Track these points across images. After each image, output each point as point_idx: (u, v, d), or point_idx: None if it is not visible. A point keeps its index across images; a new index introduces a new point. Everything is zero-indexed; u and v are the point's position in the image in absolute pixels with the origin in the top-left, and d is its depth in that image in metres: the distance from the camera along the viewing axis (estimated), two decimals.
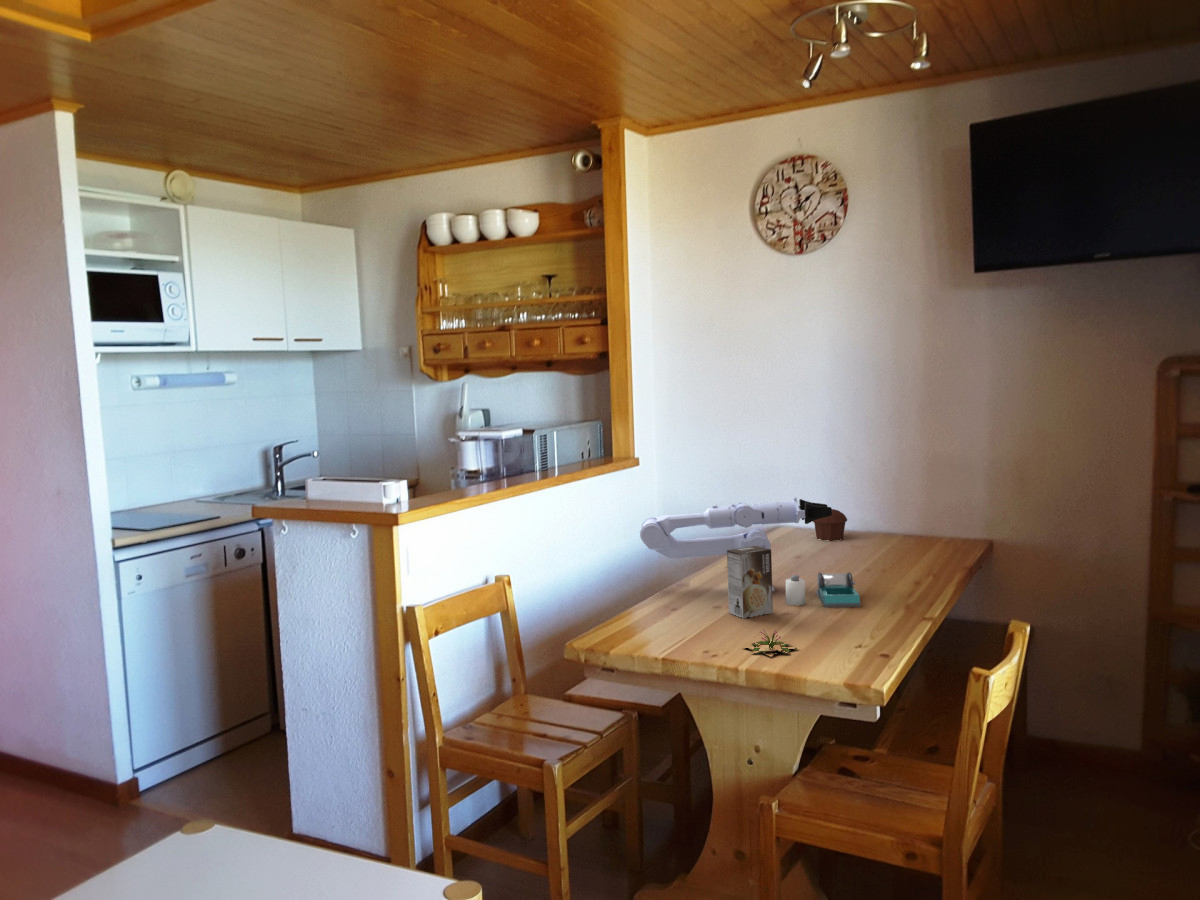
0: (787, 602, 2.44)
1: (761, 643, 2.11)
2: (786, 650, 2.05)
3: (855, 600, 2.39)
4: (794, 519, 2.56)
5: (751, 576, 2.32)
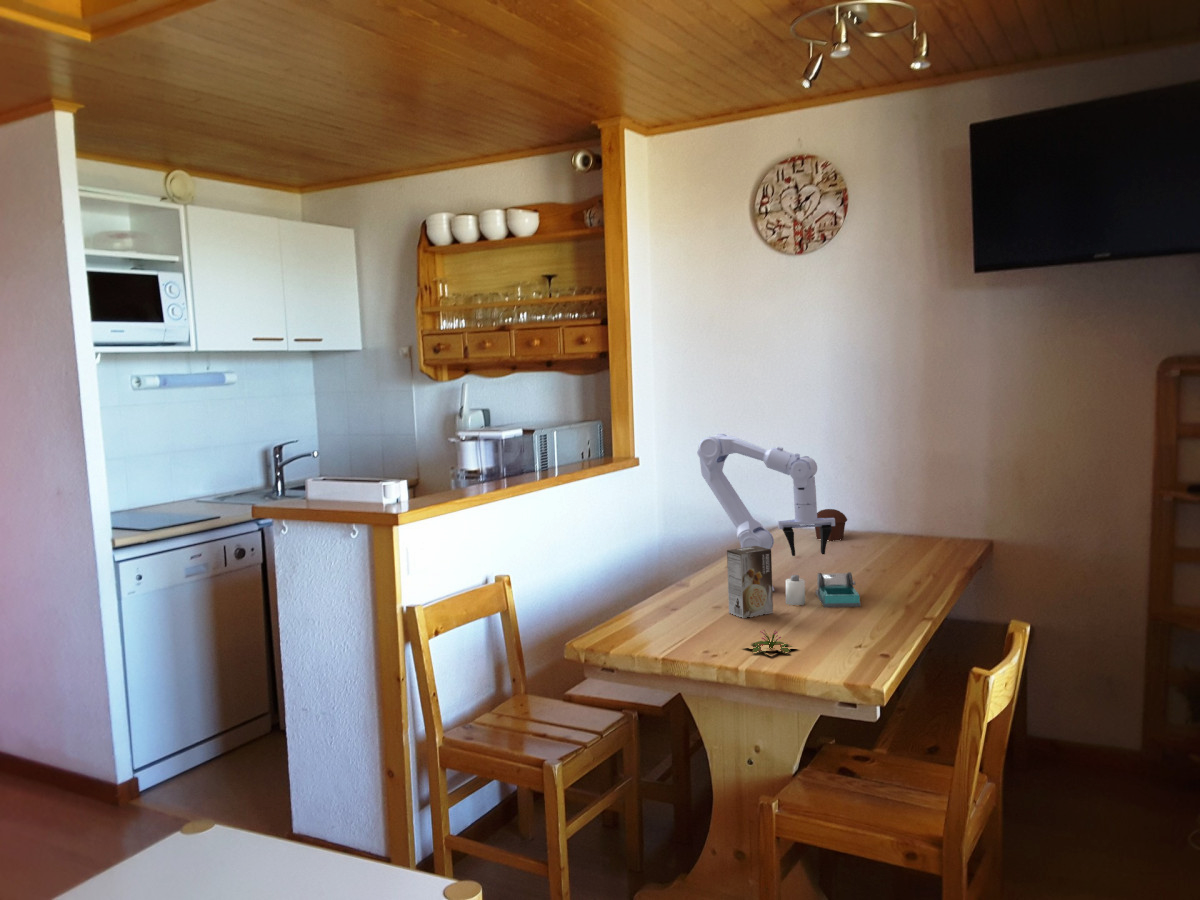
0: (787, 602, 2.44)
1: (761, 643, 2.11)
2: (786, 650, 2.05)
3: (855, 600, 2.39)
4: (815, 519, 2.51)
5: (751, 576, 2.32)
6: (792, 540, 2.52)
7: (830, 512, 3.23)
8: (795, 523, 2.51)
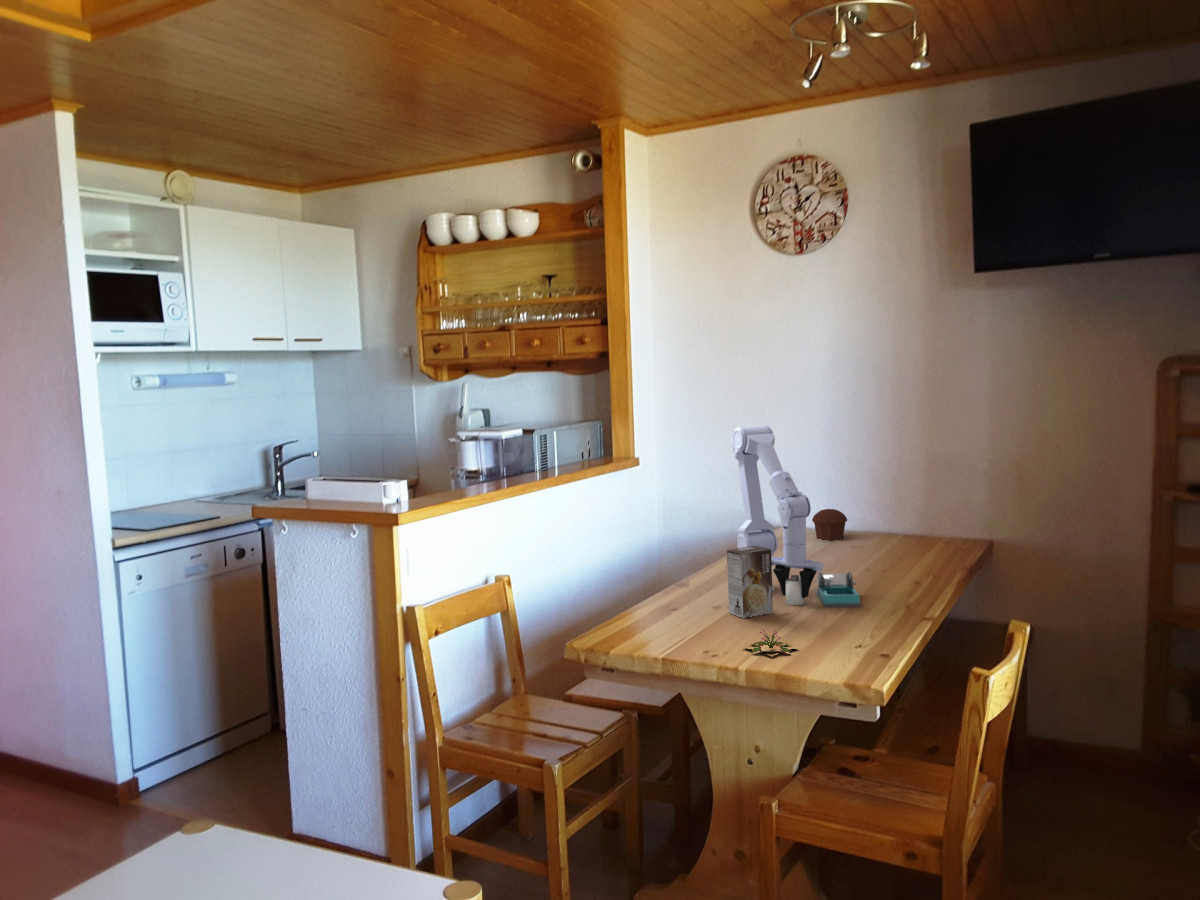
0: (787, 602, 2.44)
1: (760, 643, 2.10)
2: (786, 650, 2.05)
3: (855, 600, 2.39)
4: (799, 561, 2.41)
5: (751, 576, 2.32)
6: (781, 579, 2.45)
7: (830, 512, 3.23)
8: (779, 562, 2.44)
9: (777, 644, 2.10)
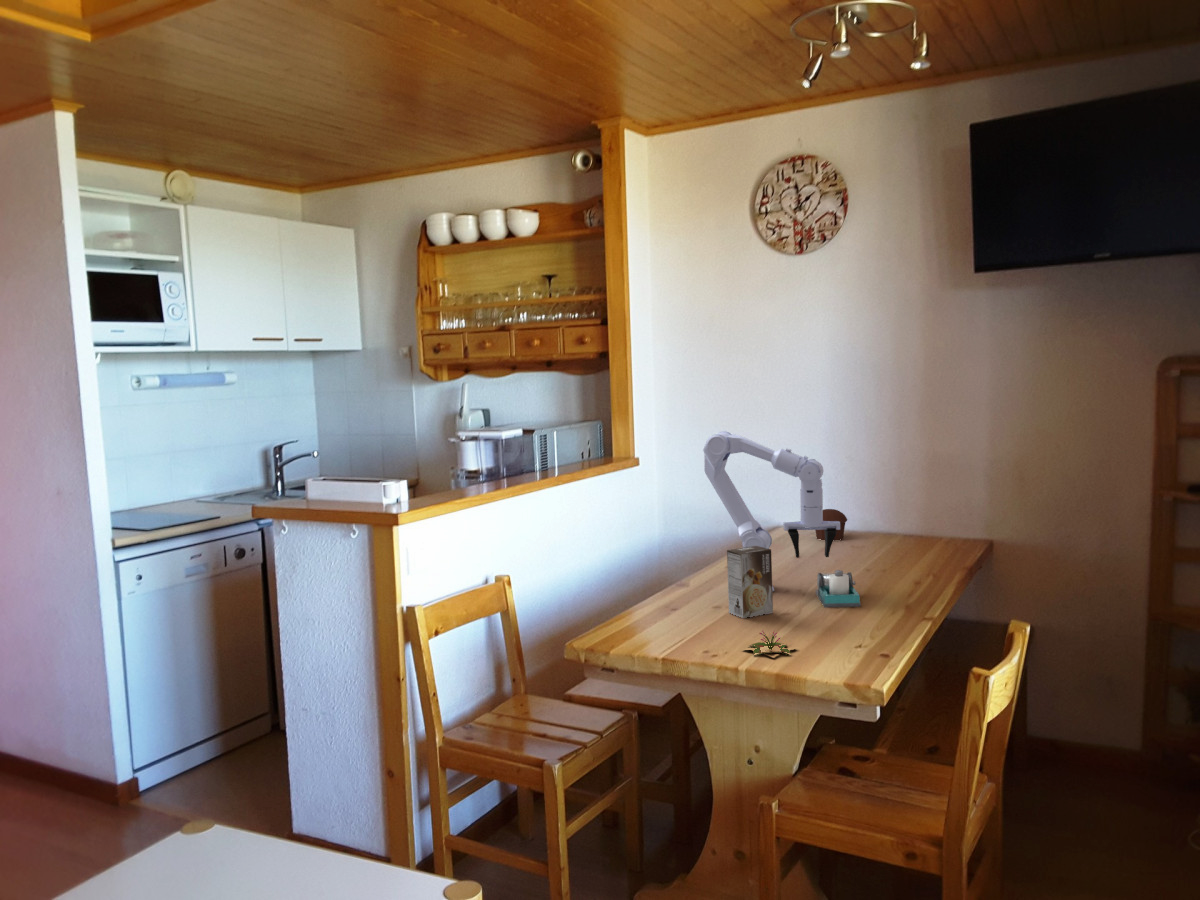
0: None
1: (759, 644, 2.10)
2: (787, 651, 2.04)
3: (855, 600, 2.39)
4: (821, 522, 2.52)
5: (751, 576, 2.32)
6: (797, 542, 2.53)
7: (830, 512, 3.23)
8: (800, 525, 2.53)
9: (776, 645, 2.09)
